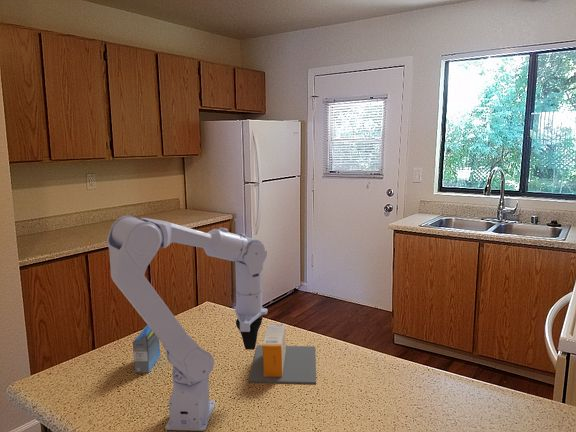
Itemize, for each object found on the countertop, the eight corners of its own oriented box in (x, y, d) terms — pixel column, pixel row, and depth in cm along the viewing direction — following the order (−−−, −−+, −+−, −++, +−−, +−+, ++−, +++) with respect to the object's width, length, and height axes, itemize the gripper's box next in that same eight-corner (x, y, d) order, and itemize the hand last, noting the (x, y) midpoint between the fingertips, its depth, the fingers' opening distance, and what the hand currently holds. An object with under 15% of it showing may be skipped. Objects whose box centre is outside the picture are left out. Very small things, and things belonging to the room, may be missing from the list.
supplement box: (262, 377, 103) (268, 351, 116) (282, 377, 103) (286, 351, 116) (261, 345, 102) (267, 322, 115) (281, 344, 102) (285, 322, 115)
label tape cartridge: (146, 355, 115) (143, 311, 113) (161, 355, 115) (158, 312, 113) (134, 373, 106) (130, 326, 104) (149, 373, 106) (146, 326, 104)
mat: (316, 383, 101) (316, 382, 101) (248, 382, 102) (248, 380, 102) (315, 347, 119) (315, 346, 119) (257, 346, 120) (257, 345, 120)
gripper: (263, 303, 88) (264, 364, 90) (269, 280, 102) (270, 334, 105) (229, 302, 88) (231, 364, 91) (240, 280, 103) (241, 333, 105)
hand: (250, 348), depth 98 cm, fingers closed
